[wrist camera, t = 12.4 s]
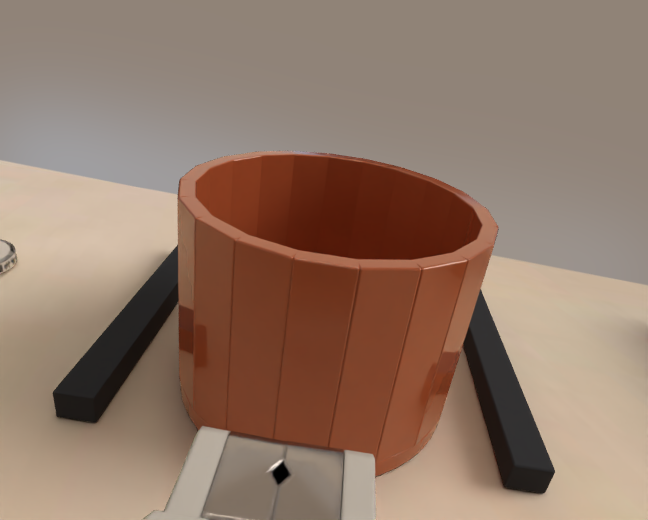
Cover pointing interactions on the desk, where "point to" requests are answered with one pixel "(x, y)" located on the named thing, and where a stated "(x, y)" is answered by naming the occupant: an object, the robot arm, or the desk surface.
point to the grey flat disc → (7, 256)
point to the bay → (480, 343)
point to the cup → (325, 298)
